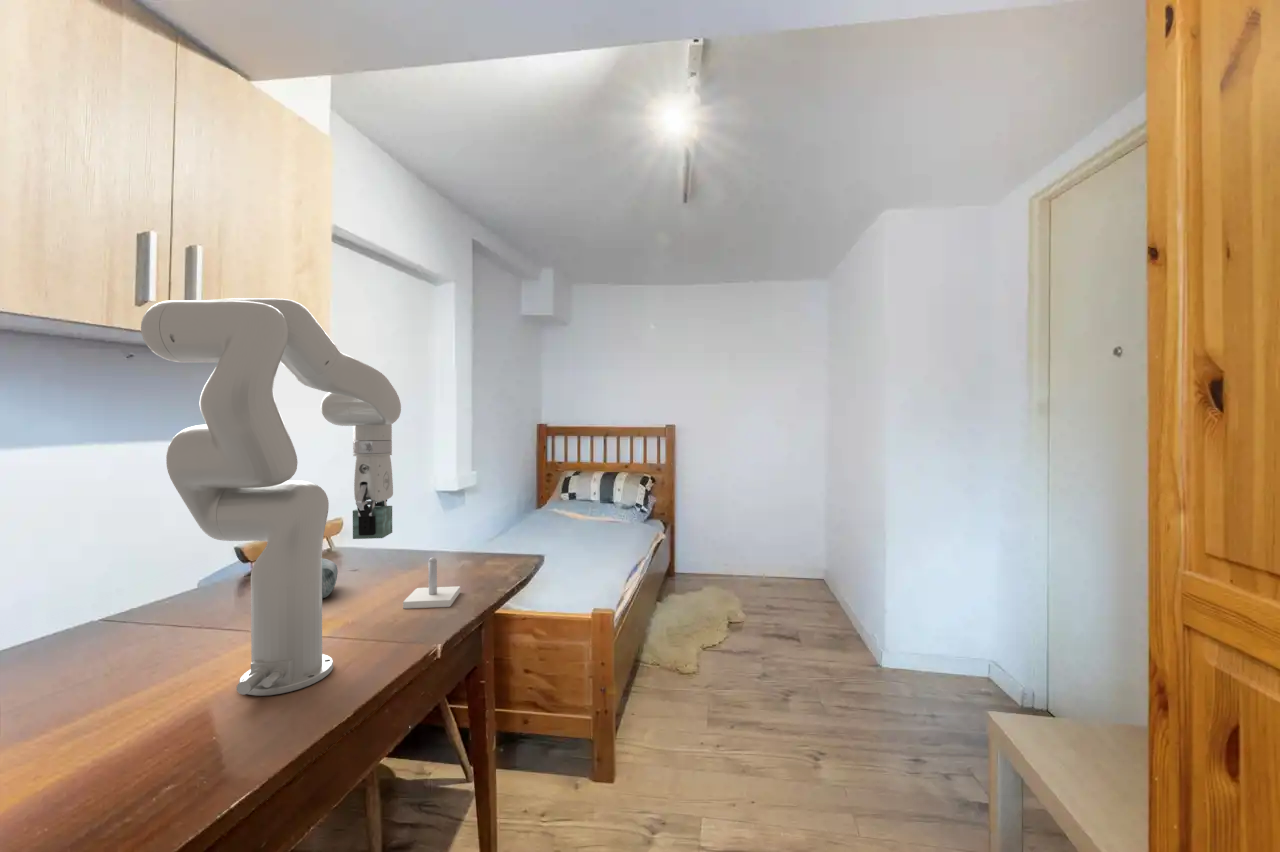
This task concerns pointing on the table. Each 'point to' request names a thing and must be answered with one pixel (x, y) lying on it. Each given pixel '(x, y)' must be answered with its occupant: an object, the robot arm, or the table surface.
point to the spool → (328, 576)
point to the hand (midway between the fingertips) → (373, 531)
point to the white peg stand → (432, 592)
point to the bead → (381, 523)
